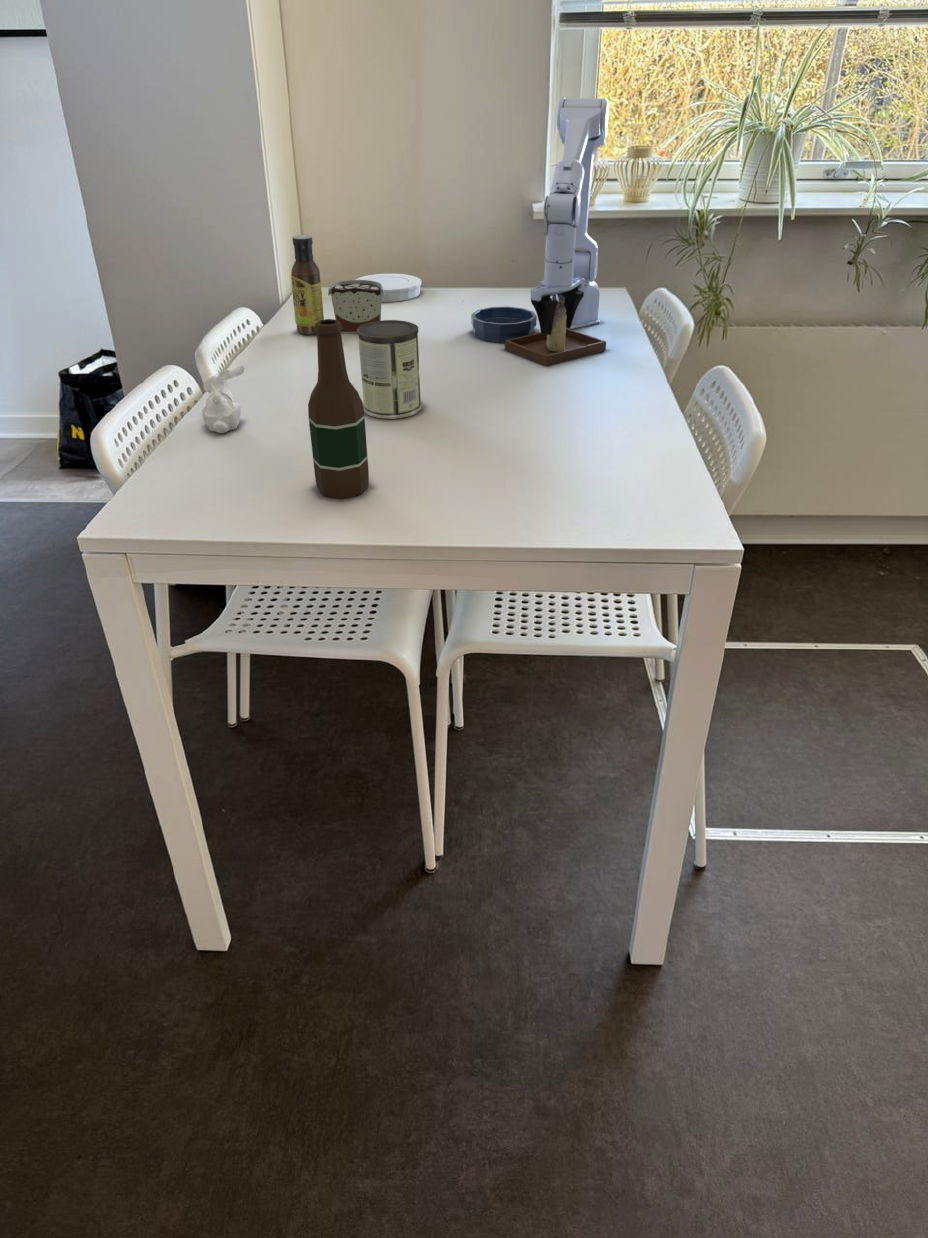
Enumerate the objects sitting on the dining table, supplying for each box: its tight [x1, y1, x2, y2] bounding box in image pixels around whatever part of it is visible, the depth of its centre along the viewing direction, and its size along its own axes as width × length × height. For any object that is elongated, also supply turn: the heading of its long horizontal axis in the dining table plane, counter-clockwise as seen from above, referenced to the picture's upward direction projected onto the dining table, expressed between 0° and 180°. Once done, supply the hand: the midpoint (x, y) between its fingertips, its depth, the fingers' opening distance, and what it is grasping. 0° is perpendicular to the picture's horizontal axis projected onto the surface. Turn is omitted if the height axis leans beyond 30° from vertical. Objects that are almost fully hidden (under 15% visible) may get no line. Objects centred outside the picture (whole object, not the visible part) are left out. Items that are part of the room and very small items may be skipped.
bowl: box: [470, 306, 538, 344], centre depth 193 cm, size 14×14×4 cm
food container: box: [327, 279, 385, 334], centre depth 195 cm, size 12×6×10 cm, turn 84°
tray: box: [504, 328, 607, 367], centre depth 184 cm, size 16×13×2 cm
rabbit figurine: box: [201, 363, 245, 434], centre depth 149 cm, size 12×8×10 cm, turn 9°
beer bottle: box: [307, 318, 370, 499], centre depth 124 cm, size 8×8×24 cm
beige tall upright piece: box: [546, 295, 567, 351], centre depth 181 cm, size 7×4×10 cm, turn 1°
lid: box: [355, 273, 422, 303], centre depth 223 cm, size 17×20×3 cm
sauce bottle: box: [290, 234, 325, 336], centre depth 191 cm, size 6×6×20 cm
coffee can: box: [356, 319, 422, 420], centre depth 153 cm, size 10×10×14 cm
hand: (556, 330), depth 182 cm, fingers closed on beige tall upright piece, 6 cm apart
